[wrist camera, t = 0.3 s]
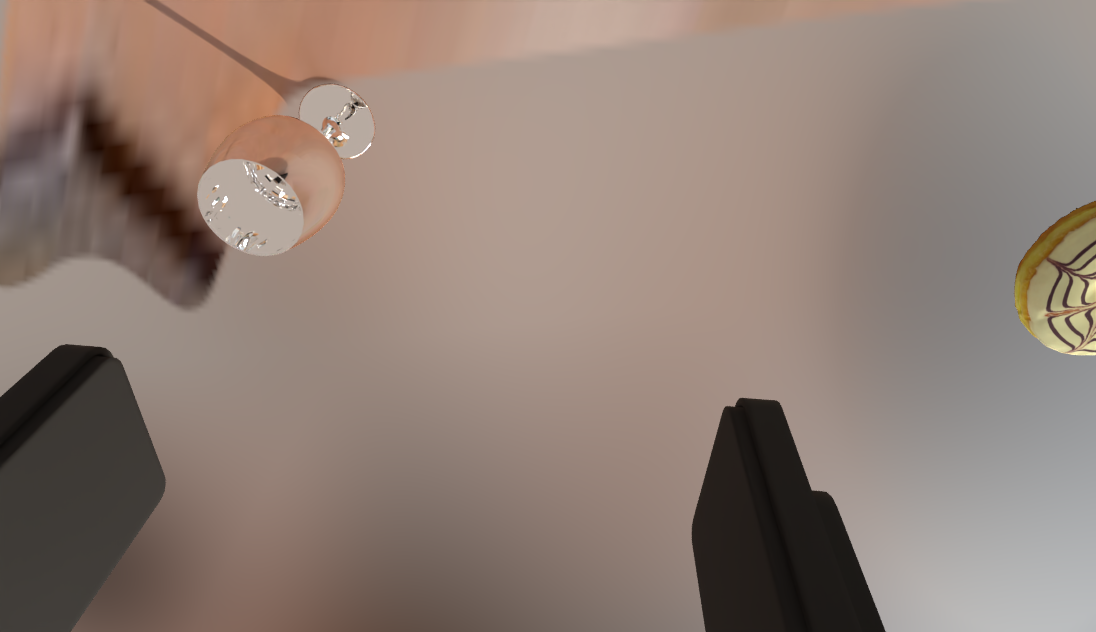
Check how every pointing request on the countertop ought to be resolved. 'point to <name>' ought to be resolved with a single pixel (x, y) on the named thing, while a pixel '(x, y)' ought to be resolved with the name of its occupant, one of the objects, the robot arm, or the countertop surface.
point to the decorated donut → (1061, 284)
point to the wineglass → (284, 172)
